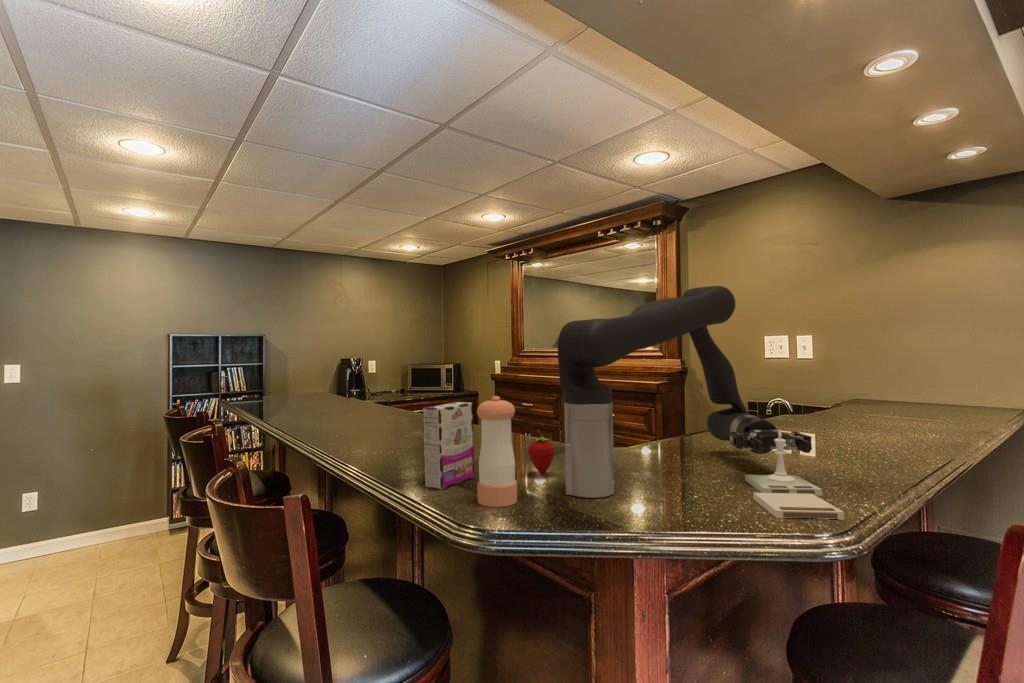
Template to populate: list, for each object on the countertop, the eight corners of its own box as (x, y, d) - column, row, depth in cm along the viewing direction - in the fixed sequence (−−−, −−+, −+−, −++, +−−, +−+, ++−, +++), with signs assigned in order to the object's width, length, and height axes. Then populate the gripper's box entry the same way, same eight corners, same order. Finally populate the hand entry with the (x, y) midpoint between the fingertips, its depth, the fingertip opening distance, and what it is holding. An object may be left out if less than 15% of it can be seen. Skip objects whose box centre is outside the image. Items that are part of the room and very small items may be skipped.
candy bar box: (456, 475, 108) (455, 401, 109) (474, 477, 106) (473, 402, 106) (422, 487, 99) (421, 406, 99) (441, 490, 96) (440, 407, 97)
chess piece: (793, 479, 96) (791, 428, 96) (798, 485, 91) (796, 432, 92) (765, 477, 98) (763, 427, 98) (768, 483, 93) (767, 431, 93)
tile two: (764, 494, 90) (764, 487, 90) (745, 480, 100) (745, 474, 100) (822, 496, 89) (822, 488, 89) (796, 481, 99) (796, 474, 99)
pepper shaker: (477, 496, 92) (475, 394, 93) (515, 494, 93) (513, 394, 93) (478, 508, 85) (476, 398, 85) (519, 506, 86) (517, 397, 86)
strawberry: (528, 479, 103) (527, 432, 104) (528, 471, 111) (527, 427, 111) (556, 479, 103) (555, 432, 103) (554, 471, 111) (553, 427, 111)
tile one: (777, 518, 77) (776, 509, 77) (753, 499, 87) (753, 491, 87) (844, 520, 76) (844, 511, 76) (812, 500, 86) (812, 492, 86)
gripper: (719, 416, 110) (744, 427, 94) (786, 416, 108) (823, 427, 92) (720, 449, 110) (745, 466, 93) (787, 450, 108) (825, 467, 92)
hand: (784, 447), depth 93 cm, fingers open, 8 cm apart
